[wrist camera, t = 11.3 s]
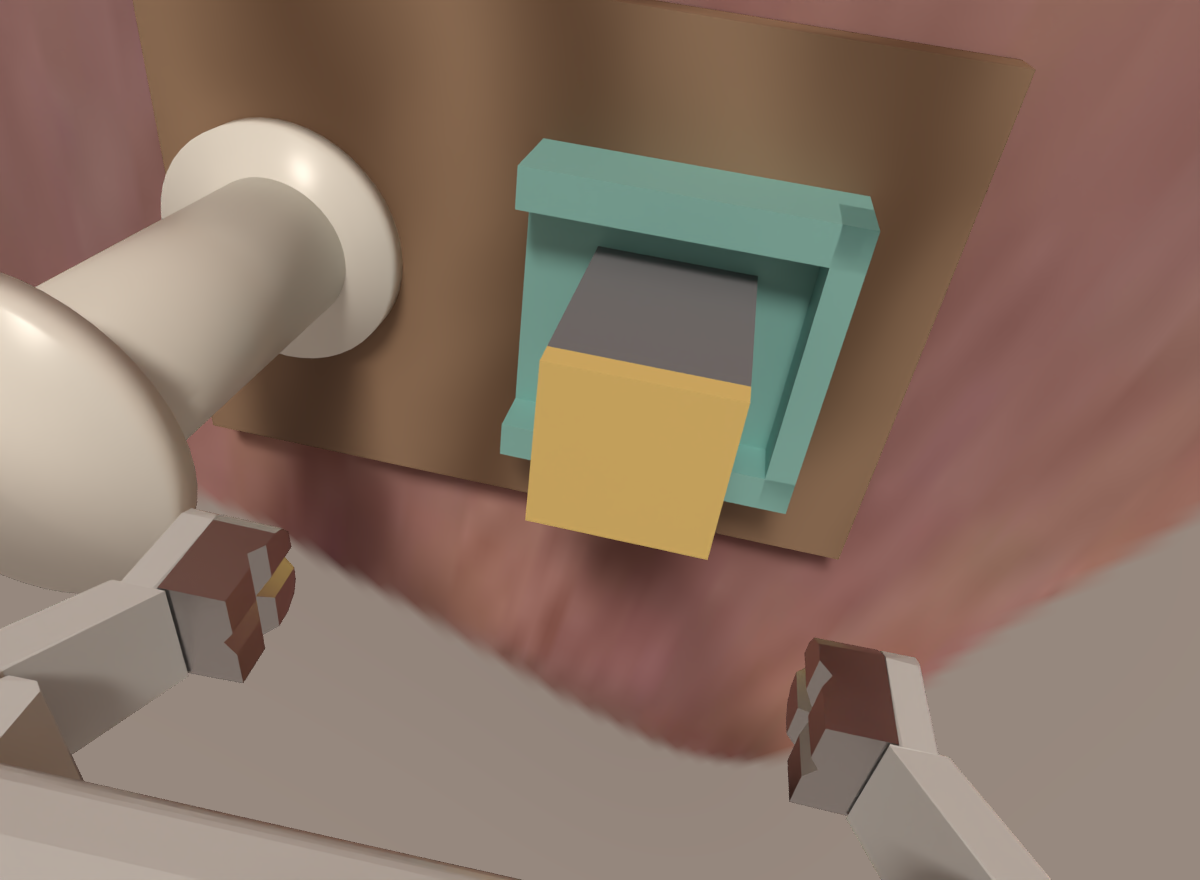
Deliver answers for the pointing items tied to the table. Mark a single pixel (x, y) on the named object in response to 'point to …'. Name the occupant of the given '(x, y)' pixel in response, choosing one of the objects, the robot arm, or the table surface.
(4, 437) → the bobbin
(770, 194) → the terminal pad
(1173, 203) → the table surface
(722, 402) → the yellow and grey block
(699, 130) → the board
